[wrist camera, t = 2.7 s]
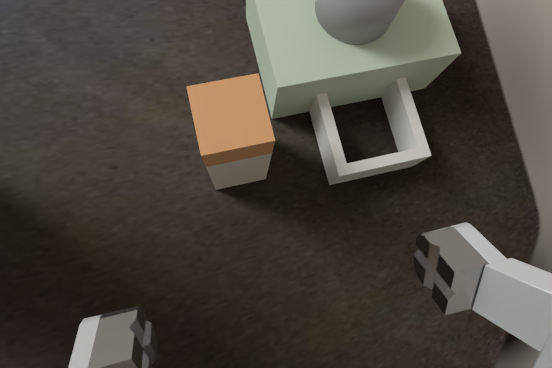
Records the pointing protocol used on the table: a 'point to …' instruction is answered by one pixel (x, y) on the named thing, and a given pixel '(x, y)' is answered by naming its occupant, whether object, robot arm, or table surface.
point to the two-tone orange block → (232, 129)
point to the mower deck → (352, 68)
